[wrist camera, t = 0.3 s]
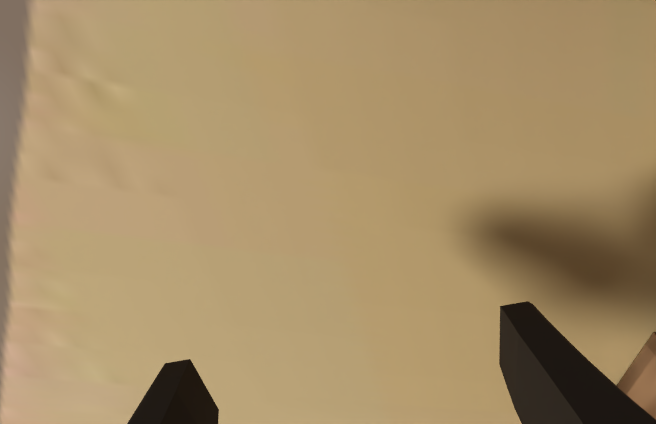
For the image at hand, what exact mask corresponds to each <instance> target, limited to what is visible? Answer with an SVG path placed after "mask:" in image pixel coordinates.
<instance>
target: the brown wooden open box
mask: <svg viewBox="0 0 656 424" xmlns="http://www.w3.org/2000/svg"><path fill="white" fill-rule="evenodd" d="M617 387H618V388H619V389H620V390H622V391H623V392H624V393H625V394H626V395H627V396H628V397H630V398H631V399H632V400H633V401H634V402H635V403H637V404H638V405H639V406H640V407H641V408H643V409H644V410H645V411H646V412H647V413H649V414H650V415H651V416H652V417H653V418H655V419H656V333H654V332H653V334H652V335H651V337H650V338H649V340H648V341H647V342H646V344H645V345H644V347H643V348H642V350H641V351H640V353H639V354H638V355H637V357H636V358H635V360H634V361H633V363H632V364H631V366H630V367H629V369H628V370H627V371H626V373H625V374H624V376H623V377H622V379H621V380H620V382H619V383H618V385H617Z"/></svg>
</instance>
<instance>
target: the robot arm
mask: <svg viewBox="0 0 656 424" xmlns="http://www.w3.org/2000/svg"><path fill="white" fill-rule="evenodd" d="M499 364H500V367H501V370H502V373H503V376H504V379H505V382H506V385H507V388H508V391H509V393H510V396H511V399H512V402H513V405H514V408H515V410H516V412H517V414H518V416H519V419H520V421H521V423H522V424H656V419H655V418H653V417H652V416H651V415H650V414H649V413H647V412H646V411H645V410H644V409H643V408H641V407H640V406H639V405H638V404H637V403H635V402H634V401H633V400H632V399H631V398H630V397H628V396H627V395H626V394H625V393H624V392H623V391H622V390H620V389H619V388H618V387H617V386H616V385H615V384H614V383H613V382H611V381H610V380H609V379H608V378H607V377H606V376H605V375H604V374H603V373H602V372H601V371H599V370H598V369H597V368H596V367H595V366H594V365H593V364H592V363H591V362H590V361H588V360H587V359H586V358H585V357H584V356H583V355H582V354H581V353H580V352H579V351H578V350H577V349H576V348H575V347H574V346H573V345H572V344H571V343H570V342H569V341H568V340H567V339H566V338H565V337H564V336H563V335H562V334H561V333H560V332H559V331H558V330H557V329H556V328H555V327H554V326H553V325H552V324H551V323H550V322H549V321H548V320H547V319H546V318H545V317H544V316H543V315H542V314H541V313H540V312H539V311H538V309H537V308H536V307H535V306H534V305H533V304H531V303H530V302H522V303H516V304H510V305H504V306H500V362H499ZM218 412H219V409H218V408H217V406H216V404H215V402H214V401H213V399H212V397H211V395H210V394H209V392H208V390H207V388H206V386H205V385H204V383H203V381H202V379H201V378H200V376H199V374H198V372H197V371H196V369H195V367H194V365H193V363H192V362H191V360H190V359H189V360H183V361H177V362H171V363H165V365H164V366H163V367H162V369H161V371H160V372H159V374H158V375H157V377H156V378H155V380H154V382H153V383H152V385H151V387H150V388H149V390H148V391H147V393H146V395H145V396H144V398H143V399H142V401H141V403H140V404H139V406H138V407H137V409H136V411H135V412H134V414H133V415H132V417H131V419H130V420H129V422H128V423H127V424H218Z"/></svg>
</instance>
